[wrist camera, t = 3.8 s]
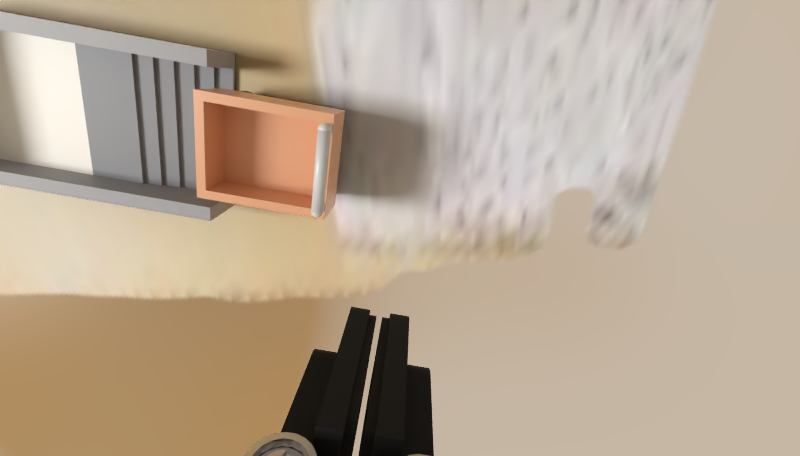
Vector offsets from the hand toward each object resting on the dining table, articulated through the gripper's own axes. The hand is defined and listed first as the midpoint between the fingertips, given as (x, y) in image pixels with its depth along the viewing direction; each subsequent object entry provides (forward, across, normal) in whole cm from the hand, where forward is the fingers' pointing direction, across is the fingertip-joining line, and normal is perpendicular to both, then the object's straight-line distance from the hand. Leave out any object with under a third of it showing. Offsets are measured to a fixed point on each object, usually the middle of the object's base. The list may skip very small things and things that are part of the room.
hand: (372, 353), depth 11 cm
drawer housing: (+25, +26, 0) cm, 36 cm away
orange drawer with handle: (+25, +10, 0) cm, 27 cm away
